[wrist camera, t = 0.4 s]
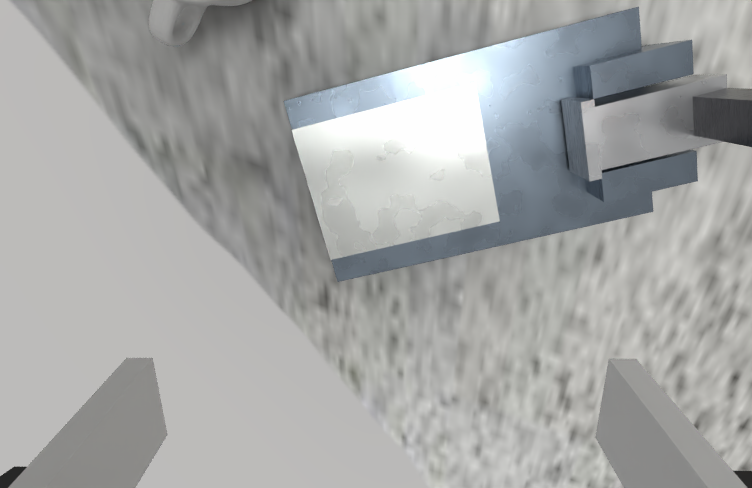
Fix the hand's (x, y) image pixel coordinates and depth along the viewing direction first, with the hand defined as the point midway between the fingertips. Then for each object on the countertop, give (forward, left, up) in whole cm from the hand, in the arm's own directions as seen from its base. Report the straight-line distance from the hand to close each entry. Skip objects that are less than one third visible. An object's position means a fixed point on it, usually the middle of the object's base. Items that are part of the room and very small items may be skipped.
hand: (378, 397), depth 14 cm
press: (-2, +8, -26) cm, 27 cm away
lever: (-2, +18, -23) cm, 29 cm away
